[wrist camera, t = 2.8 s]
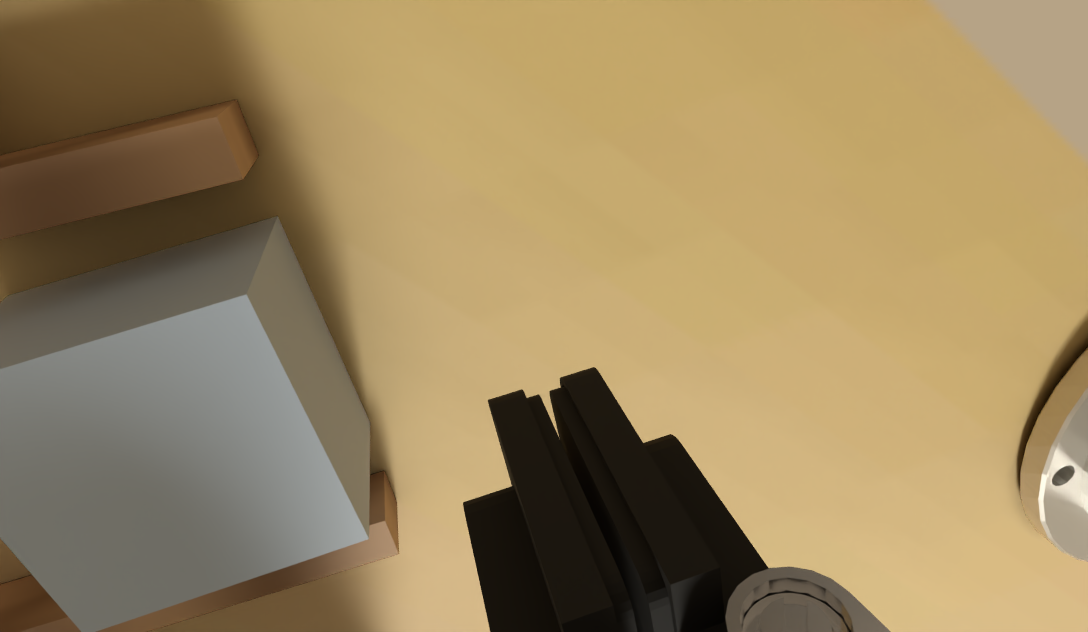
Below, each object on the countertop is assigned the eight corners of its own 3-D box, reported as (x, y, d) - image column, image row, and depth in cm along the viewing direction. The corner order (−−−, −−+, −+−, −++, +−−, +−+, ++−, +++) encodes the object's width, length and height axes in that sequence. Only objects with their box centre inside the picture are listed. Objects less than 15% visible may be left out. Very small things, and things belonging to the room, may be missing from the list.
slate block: (278, 214, 16) (246, 294, 12) (369, 419, 19) (368, 538, 15) (11, 293, 15) (-115, 404, 11) (147, 491, 18) (84, 635, 14)
